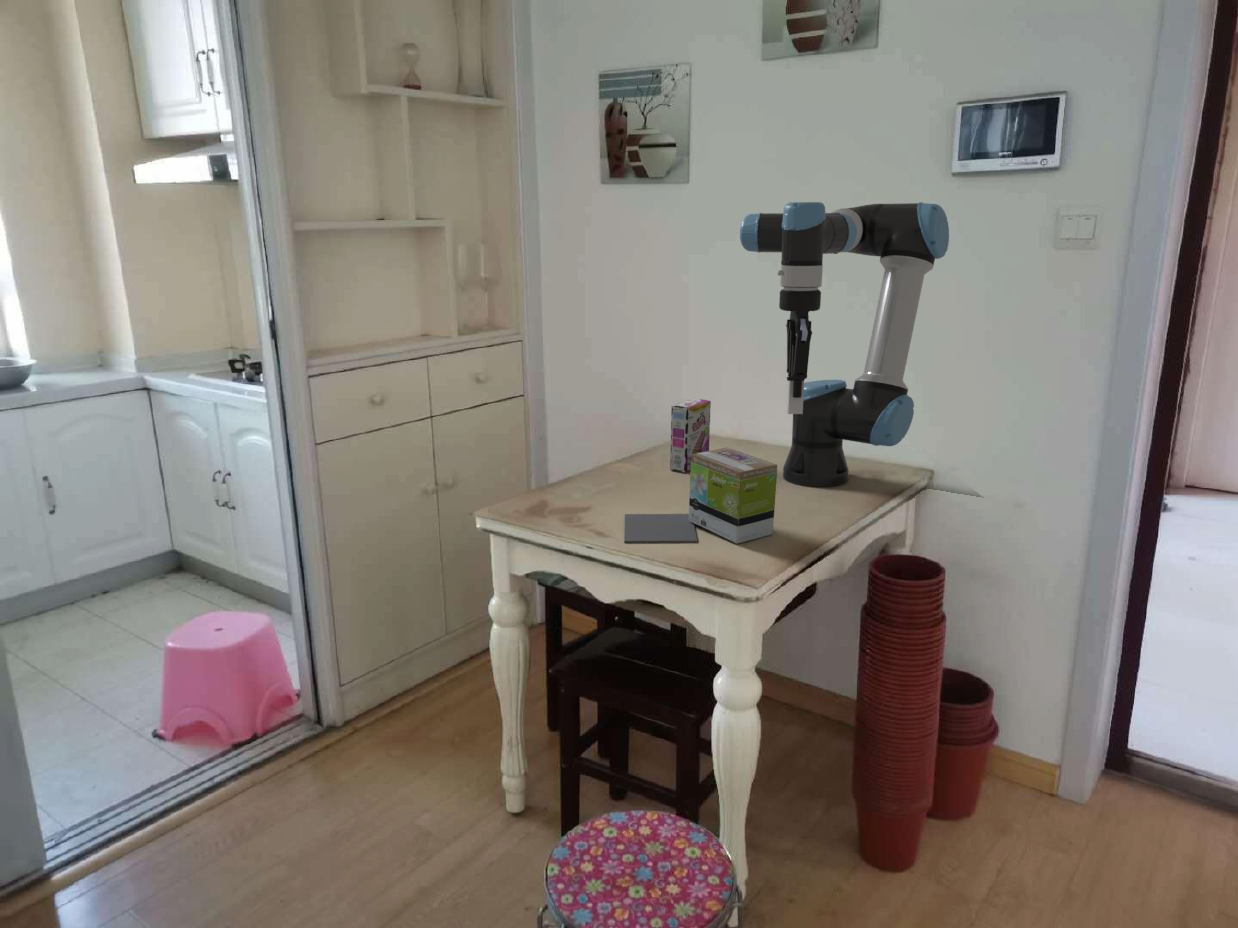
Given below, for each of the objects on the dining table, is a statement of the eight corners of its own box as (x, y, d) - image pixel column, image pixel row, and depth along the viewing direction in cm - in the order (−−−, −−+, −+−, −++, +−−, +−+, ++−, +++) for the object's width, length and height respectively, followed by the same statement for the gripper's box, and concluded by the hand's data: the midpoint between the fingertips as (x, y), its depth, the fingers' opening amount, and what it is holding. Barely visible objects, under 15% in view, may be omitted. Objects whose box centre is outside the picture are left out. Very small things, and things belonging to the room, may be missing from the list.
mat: (691, 515, 191) (691, 513, 190) (697, 542, 175) (697, 540, 175) (624, 515, 191) (624, 514, 191) (624, 542, 175) (624, 540, 175)
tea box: (686, 522, 185) (689, 452, 181) (723, 514, 190) (727, 445, 186) (736, 545, 173) (740, 470, 169) (774, 535, 179) (779, 462, 175)
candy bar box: (687, 474, 220) (687, 407, 216) (669, 471, 223) (669, 405, 219) (710, 463, 229) (711, 399, 225) (693, 460, 232) (694, 397, 228)
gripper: (774, 285, 175) (770, 406, 181) (786, 291, 163) (780, 420, 169) (814, 285, 175) (808, 406, 181) (828, 291, 163) (821, 420, 169)
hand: (794, 413), depth 175 cm, fingers closed
